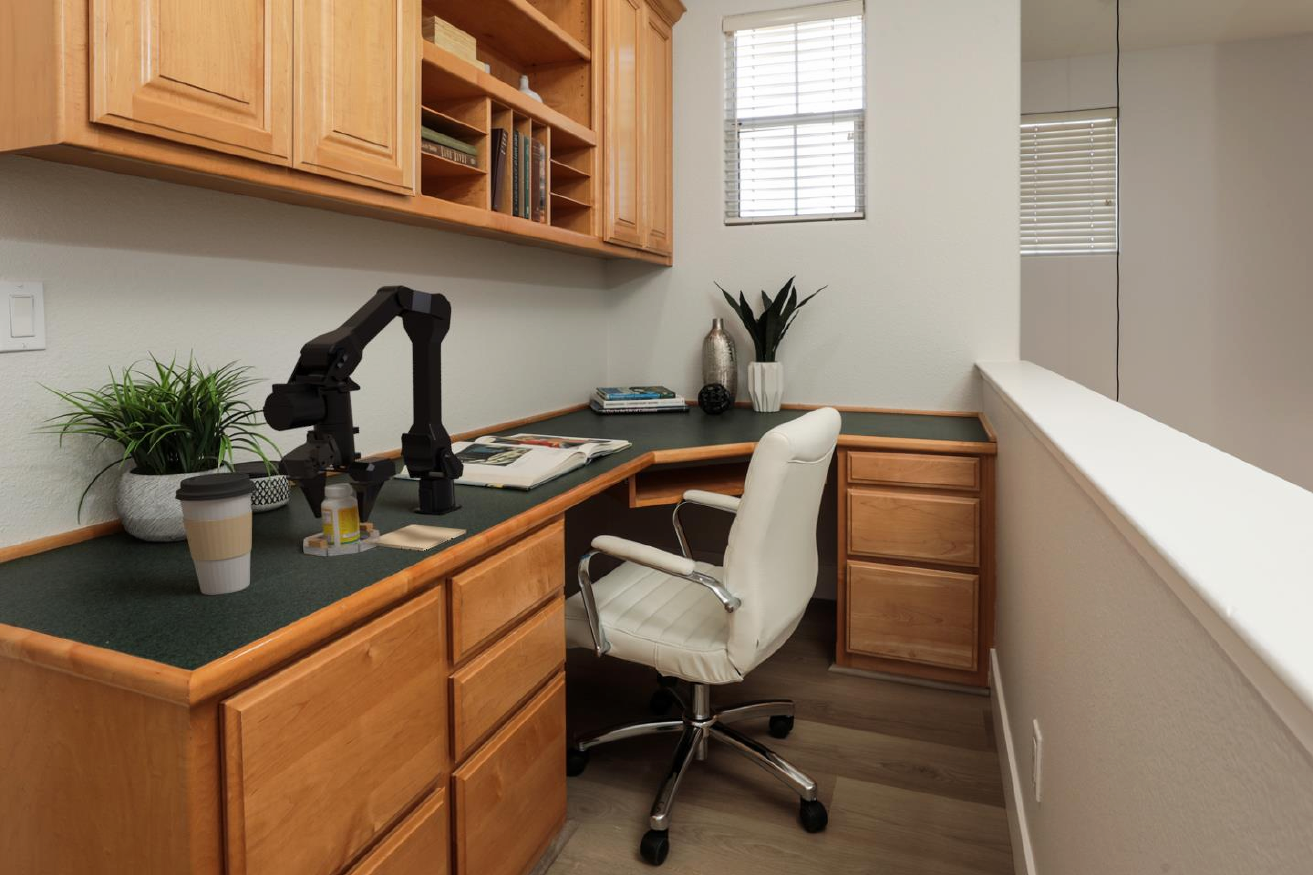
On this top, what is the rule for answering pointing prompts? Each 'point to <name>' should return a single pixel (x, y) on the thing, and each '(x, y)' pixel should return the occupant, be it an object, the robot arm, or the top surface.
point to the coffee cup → (219, 529)
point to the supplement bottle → (340, 515)
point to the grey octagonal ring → (321, 548)
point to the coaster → (418, 537)
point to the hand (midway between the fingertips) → (341, 520)
